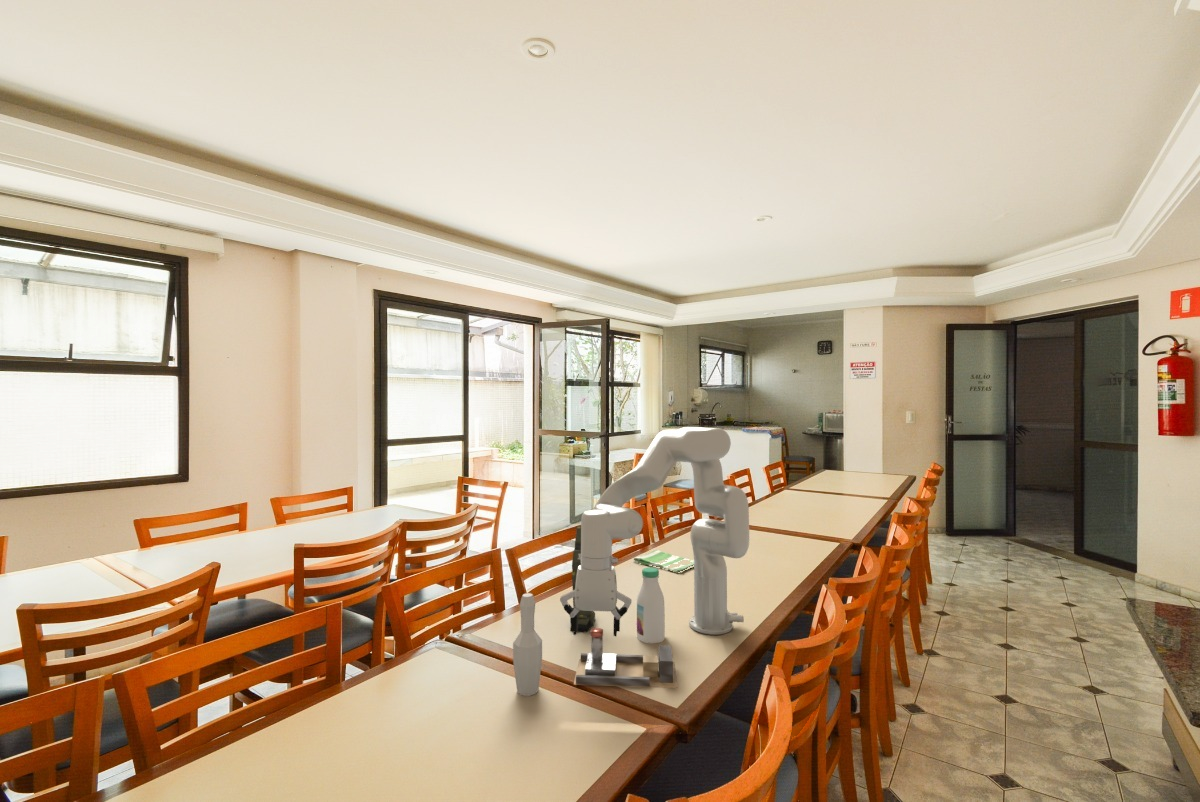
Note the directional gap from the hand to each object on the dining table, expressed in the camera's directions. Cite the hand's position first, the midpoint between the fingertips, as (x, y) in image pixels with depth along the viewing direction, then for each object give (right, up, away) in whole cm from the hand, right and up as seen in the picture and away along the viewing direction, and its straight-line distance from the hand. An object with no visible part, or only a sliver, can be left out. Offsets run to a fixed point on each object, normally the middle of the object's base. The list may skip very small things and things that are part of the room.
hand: (595, 633), depth 127 cm
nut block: (+13, -9, -1) cm, 16 cm away
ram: (+1, -9, 0) cm, 9 cm away
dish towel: (+29, -12, +91) cm, 96 cm away
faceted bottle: (-15, -11, -6) cm, 20 cm away
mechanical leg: (-4, -11, +32) cm, 34 cm away
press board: (+7, -11, 0) cm, 13 cm away
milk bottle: (+15, -11, +19) cm, 27 cm away
